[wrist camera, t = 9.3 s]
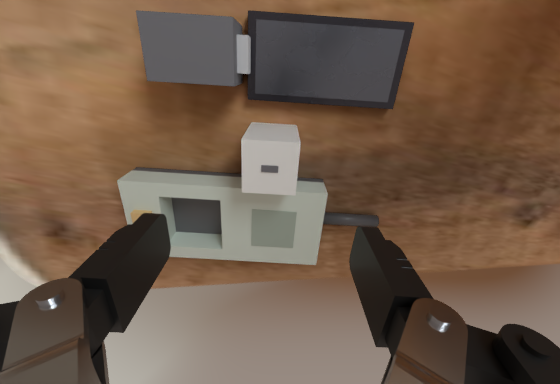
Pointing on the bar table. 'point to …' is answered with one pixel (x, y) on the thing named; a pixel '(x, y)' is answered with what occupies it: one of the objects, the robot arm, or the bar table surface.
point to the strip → (233, 215)
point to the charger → (270, 158)
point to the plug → (193, 48)
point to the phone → (326, 59)
